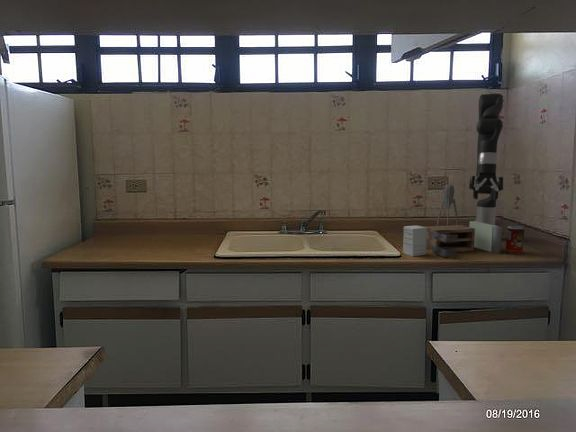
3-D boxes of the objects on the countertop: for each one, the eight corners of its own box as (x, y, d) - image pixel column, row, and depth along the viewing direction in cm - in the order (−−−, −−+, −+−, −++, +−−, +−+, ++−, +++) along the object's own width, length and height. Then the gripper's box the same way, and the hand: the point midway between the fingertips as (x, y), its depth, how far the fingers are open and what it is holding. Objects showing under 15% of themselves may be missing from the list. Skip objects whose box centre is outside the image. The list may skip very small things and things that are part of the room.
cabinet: (419, 248, 214) (419, 226, 213) (459, 245, 220) (460, 224, 218) (444, 258, 194) (446, 234, 193) (488, 255, 200) (489, 232, 198)
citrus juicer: (447, 246, 220) (450, 185, 216) (429, 243, 227) (431, 184, 223) (458, 242, 227) (461, 184, 223) (440, 240, 235) (443, 183, 231)
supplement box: (415, 251, 207) (416, 225, 205) (426, 255, 200) (427, 227, 198) (402, 253, 204) (403, 226, 203) (412, 256, 198) (413, 228, 196)
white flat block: (495, 253, 203) (497, 227, 201) (467, 245, 222) (469, 221, 220) (503, 253, 204) (505, 227, 202) (475, 244, 223) (477, 221, 221)
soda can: (513, 254, 201) (515, 227, 199) (502, 251, 207) (503, 225, 206) (526, 253, 203) (528, 227, 201) (514, 250, 209) (516, 224, 208)
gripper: (499, 164, 203) (497, 200, 204) (468, 163, 204) (466, 199, 204) (507, 163, 196) (505, 200, 196) (474, 162, 196) (472, 198, 196)
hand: (485, 199), depth 200 cm, fingers open, 8 cm apart
